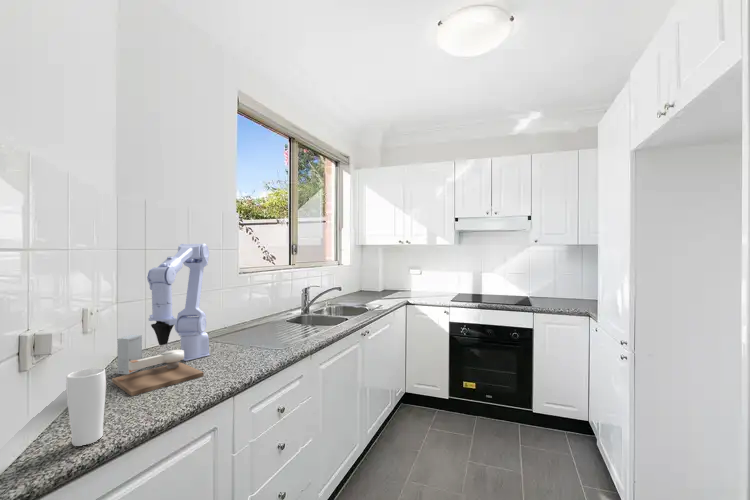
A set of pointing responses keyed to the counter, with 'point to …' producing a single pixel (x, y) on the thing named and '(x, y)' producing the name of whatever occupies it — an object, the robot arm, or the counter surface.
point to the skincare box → (129, 352)
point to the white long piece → (157, 359)
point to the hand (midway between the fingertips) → (163, 344)
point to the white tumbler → (86, 404)
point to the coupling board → (156, 378)
